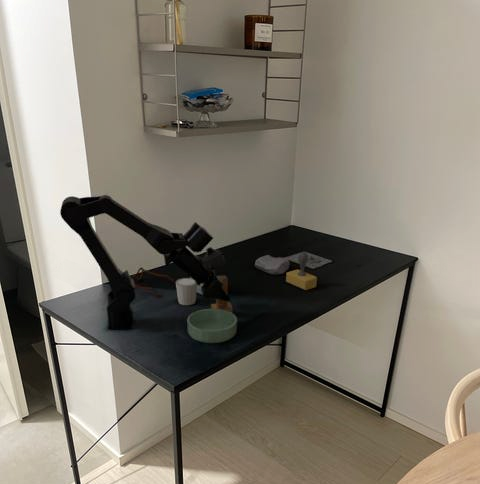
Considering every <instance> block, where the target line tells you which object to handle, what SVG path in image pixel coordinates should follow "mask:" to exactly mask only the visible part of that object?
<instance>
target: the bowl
mask: <svg viewBox="0 0 480 484" xmlns="http://www.w3.org/2000/svg"><path fill="white" fill-rule="evenodd" d="M186 322H187V323H186V326H187V329H186V330H187V331H186V332H187V333H188V335H189V337H190V338H192V339H193V340H195V341H198V342H200V343H205V344H218V343H224V342H227V341H229V340H231V339H232V338H234V337H235V335H236V334H237V332H238V317H237V315H236V314H235V313H233V312H232V313H231V312H229V311H226V310H222V309H211V308H204V309H198V310H196V311H193V312H192V313H191V314H189V315H188V316H187V320H186Z"/></svg>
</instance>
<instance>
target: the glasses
mask: <svg viewBox="0 0 480 484" xmlns="http://www.w3.org/2000/svg"><path fill="white" fill-rule="evenodd" d="M140 272H141V274H140ZM144 273H147V274H150V275H152V276H156V277H163V278H167V279H168V280H169V281H171V282H172V283H173V284H174V283H176V280H174V279H173V278H172V277H171V276H169V275H167V274H160V273H156V272H152V271H151V270H150V271H149V270H146V269H144V268H143V267H139V269H138V270H137V272H136V273H134V275H129V276H130V277H131V278H132V279H133V280H134V278H136V281H138V282H139V281H141V279H142V277H143V276H144ZM139 274H140V277H139ZM135 288H137V289H141V290H149V291H153V292H154V293H155V294H156V295H157V296H158V297H161V294H160V293H159V291H157V290H156V289H155V288H153V287H144V286H141V285H138V284H135Z"/></svg>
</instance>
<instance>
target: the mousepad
mask: <svg viewBox="0 0 480 484" xmlns="http://www.w3.org/2000/svg"><path fill="white" fill-rule="evenodd" d="M302 252H303V251H302ZM302 252H298V253H294V254H292V255H289V256H286V257H284V258H286V259H287V260H288V261H289V262H293V263H296V264H298V265H300V264H299V261H298V257H299V254H300V253H302ZM304 252H305V253H307V255H308V261H307V264H306V266H305V267H307V268H309V269H312V270H313V269H317V268H319V267H322V266H324V265H326V264H329V263H332V262H333V260H331V259H327V258H325V257H322V256H319V255H316V254H312V253H310V252H307V251H304Z"/></svg>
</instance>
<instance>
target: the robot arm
mask: <svg viewBox="0 0 480 484" xmlns="http://www.w3.org/2000/svg"><path fill="white" fill-rule="evenodd" d="M59 211H60V212H59V213H60V217H61V219H62V220H63V221H64V223H66V225H67V226H68V227H69V228H70V229H71V230H72V231H74V232H75V233H76V234H77V235H78V236H79V237H80V238H81V240H82V241H83V243H84V244H85V246H86V248H87V249H88V251H89V252H90V254H91V255H92V257H93V259H94V260H95V261H96V263H97V265H98V266H99V268H100V269H101V271H102V272H103V274H104V275H105V277H106V279H107V282H108V284H109V287H110V291H109V292H108V293H107V295H106V296H107V306H106V314H107V322H108V323H107V327H106V328H107V330H130V329H131V327H132V325H133V323H134V310H133V308H131V304H132V303H133V302H134V300H135V298H136V291H135V290H136V287H135V285H136V284H135V280H134V278H133V279H132V278H131V277H130V276H131V275H130V273H129V271H128V270H127V269H126V270H125V271H122V270H121V269H120V268H119V267H118V265H117V264H116V262H115V261H114V259H113V258H112V256H111V254H110V252H109V251H108V250H107V248H106V246H105V244H104V243H103V241H102V240H101V239H100V237H99V235H98V233H97V232H96V229H94V227H93V225H92V222H91V220H90V218H91V219H92V218H93V217H97V216H99V215H105V214H106V215H108V216H109V217H110V218H111V219H114V220H115V221H117V222H118V223H120V224H122V225H123V226H125V227H126V228H128V229H129V230H131V231H133V232H134V233H136V234H137V235H139V236H140V237H142V238H143V240H145V241H146V242H147V244H149V246H151V247H152V249H154V250H155V251H156V252H157V253H159V254H160V255H163V259H164V260H163V263H164V264H165V265H164V266H166V267H169V266H170V264H171V263H173V264H174V265H175V266H176V267H178V268H179V269H180V270H181V271H182V272H184V274H185V276H186V277H187V278H190V277H191V278H192V279H193V280H194V281H195V282H196V284H197V285H198V286H199V285H200V284H201V283H202V284H204V285H203V286H202V287H201V292H202V294H203V295H202V294H201V295H202V296H203V297H204V298H205V299H207V300H210V299H215V300H216V299H220V300H224V301H227V302H230V300H231V298H230V296H229V295H228V293H227V294H226V292H225V291H224V290H223V289H222V285H223V283H222V281H221V280H220V279H219V278H218V277H217V276H218V275H216V274H215V275H214V273H215V269H216V268H218V267H220V266H223V265H225V264H226V260H225V258H224V255H223V253H222V252H221V251H220V250H219V249H218V248H215V249H214V248H213V247H212V246H209V247H208V248H206V247H207V246H208V244H209V243H211V242H212V240H214V236H212V234H211V233H210V232H209V231H208V230H207V229H206V228H205V227H204V226H202V225H200V224H199V223H198V222H196V221H195V222H194V223H193V224H191V226H190V228H189V229H188V230H186V232H185V233H184V234H183V233H182V232H181V233H180V232H171V231H170V230H168V229H166V228H164V227H162V226H159V225H156V224H152V223H151V222H148V221H146V220H145V219H143V218H142V217H141V216H139V215H138V214H136V213H134V212H132V211H131V210H129V209H128V208H126V207H125V206H123V205H122V204H120V203H119V202H118V201H116V200H114V198H112V197H111V196H110V195H109V194H103V195H97V196H85V197H77V196H72V195H71V196H68V197H66V198H64V199H63V200H62V203H61V206H60V210H59ZM205 248H206V249H205ZM204 249H205V250H206V251H205V252H206V253H205V254H204V256H203V257H201V256H200V255H196V254H194V253H197V254H198V253H201V252H202V251H203V250H204Z"/></svg>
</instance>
